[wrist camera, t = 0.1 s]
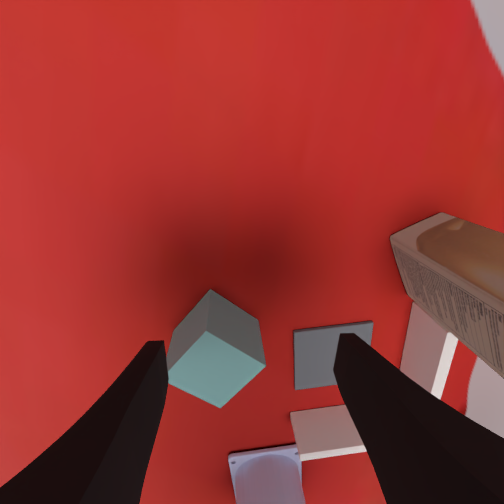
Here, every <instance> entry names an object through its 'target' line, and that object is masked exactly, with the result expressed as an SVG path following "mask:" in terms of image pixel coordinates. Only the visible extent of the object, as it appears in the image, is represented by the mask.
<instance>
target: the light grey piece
mask: <svg viewBox="0 0 504 504" xmlns="http://www.w3.org/2000/svg"><path fill="white" fill-rule="evenodd" d="M457 341H458V338H457V337H455V336H454V335H453V334H452V333H451V332H450V331H448V330H447V329H446V328H445V327H444V326H443V325H442V324H440V323H439V322H438V321H437V320H436V319H435V318H434V317H432V316H431V315H430V314H429V313H428V312H427V311H425V310H424V309H423V308H422V307H421V306H420V305H419V304H417V303H416V302H413V304H412V309H411V314H410V319H409V324H408V329H407V334H406V339H405V345H404V350H403V355H402V360H401V365H400V371H401V372H403V373H404V374H405V375H406V376H408V377H409V378H410V379H412V380H413V381H414V382H416V383H417V384H418V385H420V386H421V387H423V388H424V389H425V390H427V391H428V392H429V393H431V394H432V395H434V396H435V397H437V398H438V399H441V395H442V392H443V389H444V385H445V382H446V379H447V375H448V372H449V368H450V365H451V362H452V358H453V355H454V352H455V348H456V345H457ZM290 419H291V423H292V428H293V432H294V436H295V441H296V445H297V450H298V454H299V458H300V461H305V460H312V459H318V458H325V457H332V456H339V455H346V454H352V453H359V452H366V451H367V450H366V448H365V446H364V444H363V442H362V440H361V438H360V435H359V433H358V431H357V429H356V427H355V425H354V422H353V420H352V418H351V416H350V414H349V412H348V409H347V407H346V405H339V406H332V407H325V408H317V409H310V410H303V411H296V412H290Z"/></svg>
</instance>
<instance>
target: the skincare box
mask: <svg viewBox="0 0 504 504" xmlns="http://www.w3.org/2000/svg"><path fill="white" fill-rule="evenodd" d="M390 242H391V245H392V249H393V253H394V256H395V259H396V263H397V266H398V269H399V272H400V275H401V278H402V281H403V284H404V286H405V289H406V292H407V294H408V296H409V297H410V298H412V299H413V300H414V301H415V302H416V303H417V304H419V305H420V306H421V307H422V308H423V309H424V310H425V311H427V312H428V313H429V314H430V315H431V316H432V317H434V318H435V319H436V320H437V321H438V322H439V323H440V324H442V325H443V326H444V327H445V328H446V329H447V330H448V331H450V332H451V333H452V334H453V335H454V336H455V337H457V338H458V339H459V340H460V341H461V342H462V343H463V344H465V345H466V346H467V347H468V348H469V349H470V350H472V351H473V352H474V353H475V354H476V355H477V356H478V357H479V358H481V359H482V360H483V361H484V362H485V363H487V364H488V365H489V366H490V367H491V368H492V369H493V370H494V371H495V372H497V373H498V374H499V375H500V376H501V377H502V378H504V233H501V232H498V231H495V230H492V229H489V228H486V227H483V226H480V225H477V224H474V223H471V222H468V221H466V220H463V219H460V218H457V217H454V216H451V215H448V214H446V213H442V212H441V213H438V214H436V215H434V216H432V217H429V218H427V219H425V220H423V221H420V222H418V223H416V224H414V225H412V226H409V227H407V228H405V229H403V230H401V231H399V232H397V233H395V234H393V235H391V236H390Z"/></svg>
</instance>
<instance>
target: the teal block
mask: <svg viewBox="0 0 504 504" xmlns="http://www.w3.org/2000/svg"><path fill="white" fill-rule="evenodd" d="M166 361H167V369H168V376H169V381H168V383H169V384H171V385H173V386H175V387H177V388H179V389H181V390H183V391H186V392H188V393H190V394H192V395H194V396H196V397H198V398H200V399H202V400H204V401H206V402H208V403H210V404H213V405H215V406H217V407H219V408H221V407H222V406H224V405H225V404H226V403H227V402H228V401H229V400H230V399H231V398H232V397H233V396H234V395H235V394H236V393H238V392H239V391H240V390H241V389H242V388H243V387H244V386H245V385H246V384H247V383H248V382H249V381H250V380H252V379H253V378H254V377H255V376H256V375H257V374H258V373H259V372H260V371H261V370H262V369H263V368H264V367H266V362H265V356H264V350H263V344H262V339H261V333H260V327H259V321H258V320H257V319H256V318H254V317H253V316H251V315H250V314H248V313H247V312H245V311H244V310H242V309H240V308H239V307H237V306H236V305H234V304H233V303H231V302H230V301H228V300H227V299H225V298H224V297H222V296H220V295H219V294H217V293H216V292H214V291H213V290H211V289H210V290H209V291H208V292H207V293H206V294H205V296H204V297H203V298H202V299H201V300H200V301H199V302H198V303H197V305H196V306H195V307H194V308H193V309H192V310H191V311H190V312H189V314H188V315H187V316H186V317H185V318H184V319H183V320H182V321H181V323H180V324H179V325H178V326H177V327H176V328H175V329H174V331H173V335H172V338H171V342H170V346H169V350H168V353H167V357H166Z"/></svg>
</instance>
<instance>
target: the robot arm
mask: <svg viewBox="0 0 504 504" xmlns="http://www.w3.org/2000/svg"><path fill="white" fill-rule="evenodd" d="M333 372H334V375H335V378H336V382H337V385H338V388H339V391H340V394H341V396H342V398H343V401H344V403H345V405H346V407H347V409H348V412H349V414H350V416H351V418H352V420H353V422H354V425H355V427H356V429H357V431H358V433H359V435H360V438H361V440H362V442H363V444H364V446H365V448H366V450H367V453H368V455H369V457H370V460H371V462H372V464H373V467H374V470H375V472H376V475H377V478H378V481H379V483H380V486H381V489H382V492H383V494H384V497H385V500H386V503H387V504H504V438H502V437H500V436H498V435H497V434H495V433H493V432H491V431H490V430H488V429H486V428H485V427H483V426H481V425H479V424H478V423H476V422H474V421H473V420H471V419H469V418H468V417H466V416H464V415H463V414H461V413H460V412H458V411H456V410H455V409H453V408H452V407H450V406H449V405H447V404H446V403H444V402H443V401H441V400H440V399H438V398H437V397H435V396H434V395H432V394H431V393H429V392H428V391H427V390H425V389H424V388H423V387H421V386H420V385H418V384H417V383H416V382H414V381H413V380H412V379H410V378H409V377H408V376H406V375H405V374H404V373H403V372H401V371H400V370H399V369H397V368H396V367H395V366H394V365H393V364H391V363H390V362H389V361H388V360H386V359H385V358H384V357H383V356H381V355H380V354H379V353H378V352H377V351H376V350H374V349H373V348H372V347H371V346H370V345H368V344H367V343H366V342H365V341H364V340H362V339H361V338H360V337H359V336H357V335H356V334H355V333H340V335H339V341H338V346H337V351H336V356H335V362H334V367H333ZM168 381H169V376H168V369H167V361H166V353H165V346H164V340H163V341H148V342H147V343H145V345H144V346H143V347H142V349H141V350H140V351H139V352H138V354H137V355H136V356H135V357H134V359H133V360H132V361H131V362H130V364H129V365H128V366H127V367H126V368H125V370H124V371H123V372H122V373H121V374H120V376H119V377H118V378H117V379H116V380H115V381H114V383H113V384H112V385H111V386H110V387H109V388H108V389H107V391H106V392H105V393H104V394H103V395H102V396H101V397H100V398H99V399H98V400H97V401H96V402H95V403H94V404H93V406H92V407H91V408H90V409H89V410H88V411H87V412H86V413H85V414H84V415H83V416H82V417H81V418H80V419H79V420H78V421H77V422H76V423H75V424H74V425H73V426H72V427H71V428H69V429H68V430H67V431H66V432H65V433H64V434H63V435H62V436H61V437H60V438H59V439H58V440H57V441H55V442H54V443H53V444H52V445H51V446H50V447H49V448H47V449H46V450H45V451H44V452H43V453H42V454H41V455H40V456H38V457H37V458H36V459H35V460H34V461H33V462H31V463H30V464H29V465H28V466H27V467H25V468H24V469H23V470H22V471H21V472H19V473H18V474H17V475H16V476H14V477H13V478H12V479H11V480H9V481H8V482H7V483H5V484H4V485H3V486H2V487H0V504H139V502H140V497H141V492H142V487H143V483H144V479H145V474H146V470H147V467H148V463H149V460H150V456H151V452H152V449H153V445H154V442H155V438H156V434H157V431H158V427H159V424H160V420H161V416H162V413H163V409H164V405H165V399H166V393H167V387H168ZM228 461H229V467H230V472H231V477H232V482H233V488H234V493H235V498H236V504H306V503H305V498H304V493H303V489H302V461H300V458H299V454H298V450H297V445H296V444H295V445H288V446H281V447H274V448H267V449H260V450H253V451H246V452H239V453H232V454H230V455H229V456H228Z"/></svg>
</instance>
